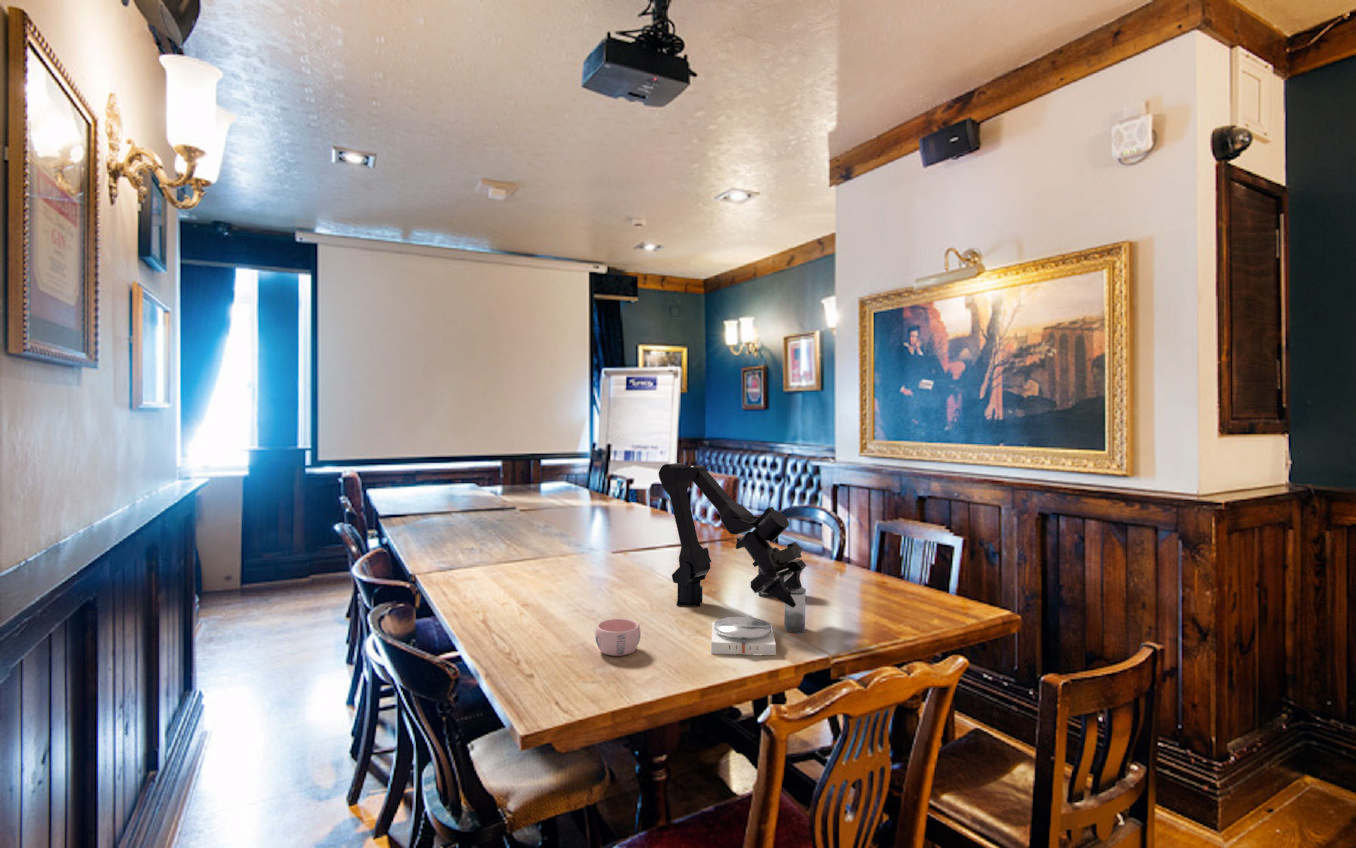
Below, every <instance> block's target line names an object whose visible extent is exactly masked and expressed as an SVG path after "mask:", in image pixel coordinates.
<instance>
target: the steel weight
mask: <svg viewBox="0 0 1356 848" xmlns="http://www.w3.org/2000/svg"><path fill="white" fill-rule="evenodd" d="M786 588H787V590H788V592H789V593H790V595H791V596H792V598H793V600H794V602H795V604H796V606H795V607H791V606H789V605H787V604H786V603H784V610H783V611H784V614H783V615H784V620H783V621H784V622H783V626H784V627H783V628H784V629H783V630H784V631H785V632H788V633H791V634H802V633H804V632H805V631H806V601H805V596H806V593H807V589H806V588H805V587H803V586H802V587H798V586H788V587H786Z"/></svg>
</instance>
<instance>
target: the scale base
mask: <svg viewBox="0 0 1356 848" xmlns="http://www.w3.org/2000/svg"><path fill="white" fill-rule="evenodd" d="M715 622H716V621H712V626H711V627H712V629H711V642H710V643H711V648H710V649H711V651H710V653H711V654H717V655H718V654H719V655H736V654H762V655H764V654H765V655H776V652H777V651H776V649H777V648H776V647H777V644H776V639H775V635H774V631H773V627H772V623H769V624H770V625H771V633H770V634H768V635H767V636H764V637H760V638H753V639H745V653H742V639H740V638H732V637H727V636H724V635H721V634H719V633H718V632H716V631H715V629H714V624H715ZM762 655H761V656H762Z"/></svg>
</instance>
